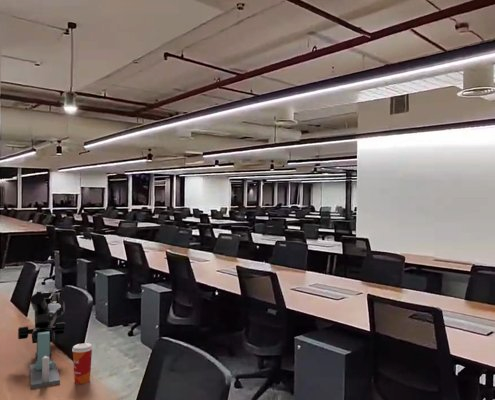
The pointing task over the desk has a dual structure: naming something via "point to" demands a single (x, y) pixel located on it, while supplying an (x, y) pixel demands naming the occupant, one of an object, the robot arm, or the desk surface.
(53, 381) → the track
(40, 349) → the teal upright block
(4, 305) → the desk surface
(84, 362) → the paper cup
